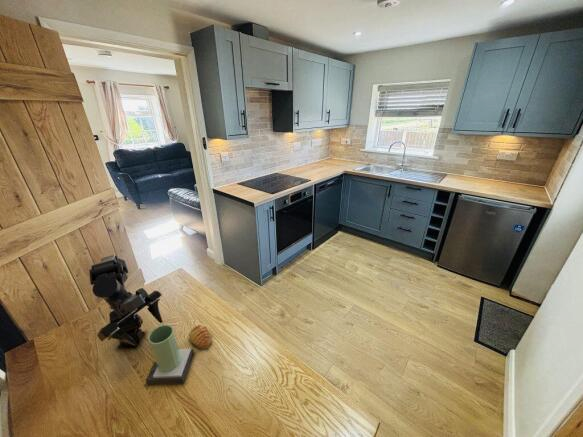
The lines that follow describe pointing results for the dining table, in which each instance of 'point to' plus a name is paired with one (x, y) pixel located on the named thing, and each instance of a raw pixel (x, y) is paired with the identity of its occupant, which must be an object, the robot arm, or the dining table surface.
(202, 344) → the pastry
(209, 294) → the dining table surface
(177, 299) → the dining table surface
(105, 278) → the robot arm
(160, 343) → the cup
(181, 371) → the scale
